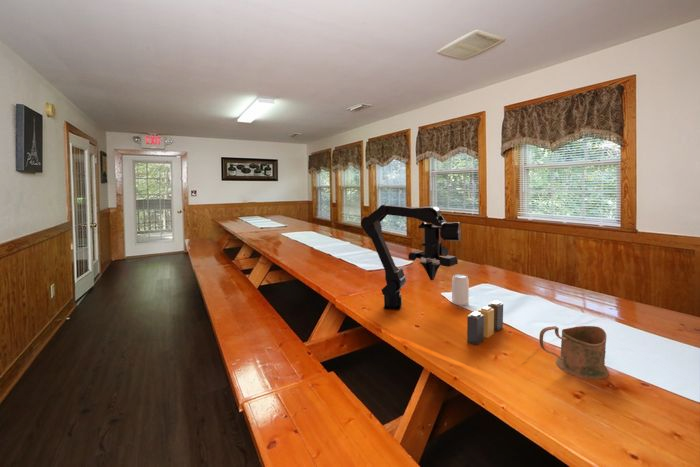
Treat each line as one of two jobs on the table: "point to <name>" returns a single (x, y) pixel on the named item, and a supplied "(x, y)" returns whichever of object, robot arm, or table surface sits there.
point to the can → (460, 289)
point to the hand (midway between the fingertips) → (432, 280)
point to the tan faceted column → (488, 320)
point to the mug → (581, 351)
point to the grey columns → (477, 323)
